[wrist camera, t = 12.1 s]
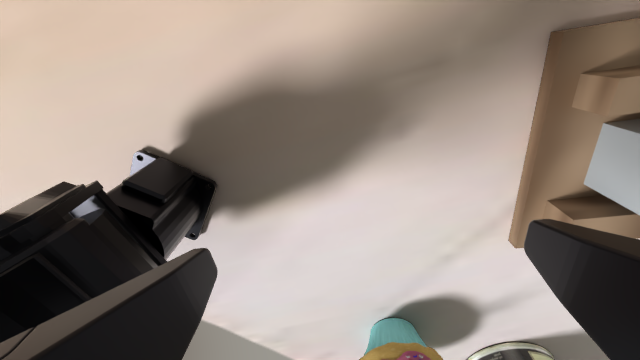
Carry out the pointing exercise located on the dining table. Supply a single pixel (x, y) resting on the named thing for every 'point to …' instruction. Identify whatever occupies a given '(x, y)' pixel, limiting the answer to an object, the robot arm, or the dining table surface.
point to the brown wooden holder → (579, 127)
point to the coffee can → (513, 352)
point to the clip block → (617, 164)
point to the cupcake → (397, 342)
